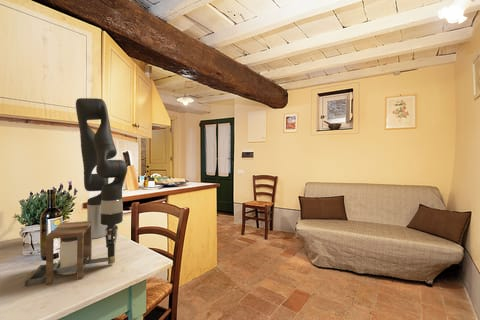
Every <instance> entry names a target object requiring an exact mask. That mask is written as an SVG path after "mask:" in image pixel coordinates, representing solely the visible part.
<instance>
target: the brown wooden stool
mask: <svg viewBox="0 0 480 320" xmlns="http://www.w3.org/2000/svg"><path fill="white" fill-rule="evenodd" d="M76 236H77V273H76V280H82V279H84V269H83V256H89V260H91V259H93V258H92V255H93V254H92V249H93V247H92V242H93V238H92V221H87V220H85V221H73V222H61V223H60V224H59V225H57V226H56V227H55V228H54V229H53V230H52V231H50V232H49V233H48V234H46V237H45V241H46V243H45V244H46V245H45V246H46V247H45V264H46V281H45V285H53V283H54V274H53V263H54V254H55V253H54V251H55V250H54V247H55V245H54V243H55V242H54V241H55V240H56V239H60V241H59V242H60V244H59V245H61V243H62V240H63V239H65V238H68V237H76Z"/></svg>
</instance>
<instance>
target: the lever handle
mask: <svg viewBox="0 0 480 320" xmlns="http://www.w3.org/2000/svg"><path fill="white" fill-rule="evenodd" d="M114 238H115V236H114ZM109 244H112V243H109ZM105 262H106V263H107V264H108V265H112V264H114V263H116V246H115V247H114V256H113V257H108V256H106V257H99V258H92V259H91V260H89V256H83V270H84V269H85V267H86V265H91V264H98V263H105ZM56 263H57V264H56V265H55V266H54V268H53V275H58V274H61V273H65V272H72V271H77V266H73V267H66V268H60V259H59V260H58V261H57V262H56Z"/></svg>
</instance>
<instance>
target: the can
mask: <svg viewBox="0 0 480 320" xmlns="http://www.w3.org/2000/svg"><path fill="white" fill-rule="evenodd" d="M59 245H60V244H59ZM59 249H60V250H59V251H60V252H59V255H60V256H59V260H60V267H59V268H66V267H73V266H77V236H76V237H68V238H65V239H63V240H62V243H61V245H60V248H59ZM75 274H77V271H72V272H65V273H60V275H62V276H70V275H71V276H72V275H75Z"/></svg>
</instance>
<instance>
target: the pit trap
mask: <svg viewBox="0 0 480 320" xmlns="http://www.w3.org/2000/svg"><path fill="white" fill-rule="evenodd" d="M57 263H58V262H53V268H54V266H55V265H56V264H57ZM44 283H45V284H46V263H45V264H40V265H39V266H38V267H37V268H36V269H35V270H34V271H33V272H32V274H30V276H29V277H28V278H27V279H26V280H25V281H24V286H25V287H26V286H27V287H28V286H33V285H40V284H44Z"/></svg>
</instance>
